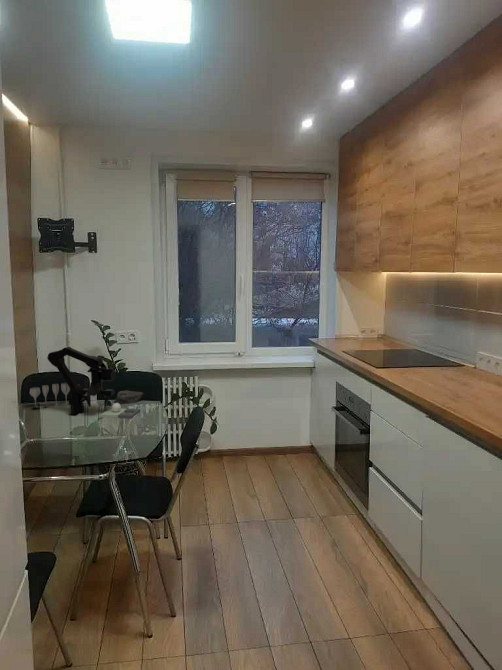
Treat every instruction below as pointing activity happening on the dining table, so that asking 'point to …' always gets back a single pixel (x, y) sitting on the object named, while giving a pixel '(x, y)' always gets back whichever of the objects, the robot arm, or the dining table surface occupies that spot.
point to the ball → (116, 407)
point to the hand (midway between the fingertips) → (97, 407)
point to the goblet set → (55, 387)
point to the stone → (129, 397)
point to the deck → (120, 413)
